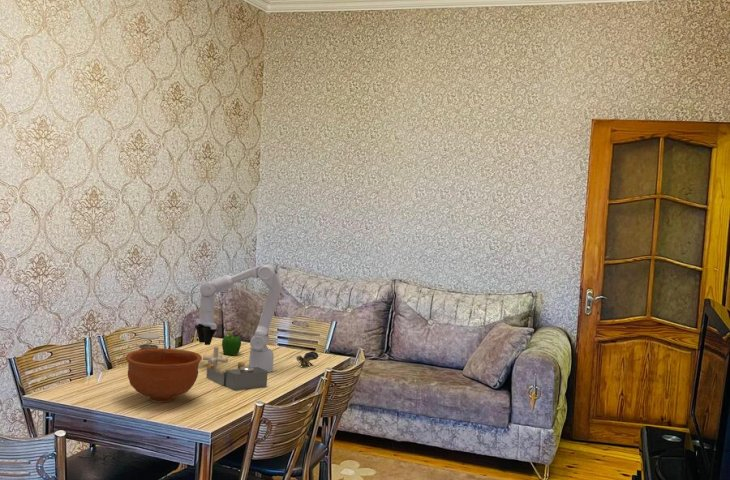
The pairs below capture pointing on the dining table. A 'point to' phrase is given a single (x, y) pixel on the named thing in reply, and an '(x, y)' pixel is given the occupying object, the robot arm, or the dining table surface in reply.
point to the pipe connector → (215, 358)
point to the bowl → (162, 372)
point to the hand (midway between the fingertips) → (204, 343)
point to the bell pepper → (231, 344)
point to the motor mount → (239, 377)
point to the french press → (150, 337)
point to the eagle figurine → (307, 358)
